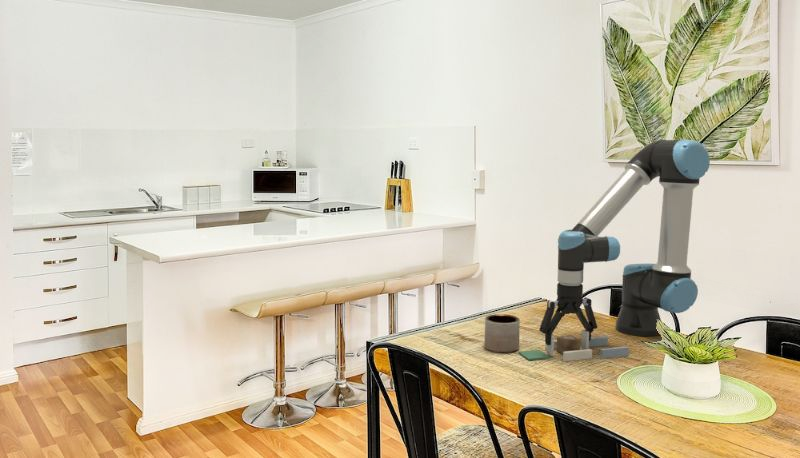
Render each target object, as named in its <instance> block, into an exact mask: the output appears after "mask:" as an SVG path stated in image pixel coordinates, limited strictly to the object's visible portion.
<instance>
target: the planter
mask: <svg viewBox="0 0 800 458" xmlns="http://www.w3.org/2000/svg"><path fill="white" fill-rule="evenodd" d="M520 321H521V320H520V318H519V317H517V316H516V315H511V314H505V313H504V314H502V313H500V314H499V313H497V314H490V315H487V316H485V318H484V342H483V343H484V347H485V349H487V350H488V351H491V352H493V353H498V354H499V353H500V354H507V353H508V354H509V353H513V352H516V351H518V350H519V349H520V323H521V322H520Z"/></svg>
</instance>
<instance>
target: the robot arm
mask: <svg viewBox="0 0 800 458" xmlns="http://www.w3.org/2000/svg"><path fill="white" fill-rule="evenodd" d="M710 161H711V159H710V154H709V152H708V150H707V148H706V147H705V146H704V145H703V144H702V143H701V142H699V141H696V140H690V139H659V140H656V141H653V142H650V143H649V144H647V145H646V146H644V147H643V148H641V149H640V150H639V151H637V153H635V155H633V156H632V157H631V159H629V161H628V162H627V163H626V164H625V165H624V171H623V172H622V173H621V174H620V175H619V177H618V178H617V179H616V180H615V181H614V182H613V183H612V184H611V186H610V187H608V189H606V191H605V192H604V193H603V194H602V196H600V198H599V199H598V200H597V201H596V202H595V203H594V205H592V207H591V208H590V209H589V210H588V211H587V212H586V213H585V215H584V216H582V218H581V219H580V220H579V222H578V223H577V224H575V226H574V227H573V228H572V229H565V230H563V231H561V232H560V233H559V236H558V238H557V243H558V244H557V253H558V255H557V284H556V296H557V298H556V300H550V299H549V300H547V301H546V310H545V312H544V315H543V317H542V321H541V323H540V326H539V329H538V330H539V332H540V333H543V334H544V336H545V337H544V343H546V344H547V350H546V354H547V355H548V356H550V357H554V355H555V350H554V340H555V335H554V334H553V333H554V331H555V330H556V328H557V327H558V325H559V323H560V322H561V320H562V318H563V317H565V315H569V314H570V315H571V314H572V315H573V314H575V315H576V317H577V318H578V320H579V322H580V323H581V324H582V326H583V328H584V329H581V339H582V347H581V346H580V350H584V349H590V347H589V341H590V340H591V338H592V333H593V332H594V329H595V330H596V329H598V324H597V321H596V317H595V314H594V311H593V307H592V299H590V298H588V297H584V298H583V295H584V293H583V291H584V285H583V283H584V270H585V269H584V265H585V264H586V263H602V262H603V263H604V262H605V263H607V262H610V261H611V262H612V261H613V262H614V261H615V260H617V259H618V258H619V256H620V255H621V244H620V242H619V240H618V238H616V237H614V236H607V235H605V236H600V235H601V233H602V232H603V230H605V229H606V227H608V225H609V224H610V223H611V222H612V221H613V220H614V218H616V217H617V215H618V214H619V213H620V212H621V211H622V210H623V208H624V207H626V205H628V203H629V202H630V200H632V198H633V197H634V196H636V194H637V193H638V191H640V190H641V188H642V187H643V186H648V185H650V183H651V182H652V181H653V180H654V179H656V178H657V177H659V178H658V179H659V181H658V183H659V184H660V185H661V187H662V188H663V195H662V204H661V216H660V229H659V240H658V241H659V242H658V254H657V262H656V263H630V264H629V263H628V264H627V265H625V266H624V267H623V273H622V285H621V286H622V289H621V294H622V295H621V307H620V310H619V313H618V315H617V318H616V320H615V328H614V329H615V330H616V331H618V332H619V333H622V334H625V335H630V336H635V337H655V336H660V335H659V333H658V331H657V329H656V319H659V320H660V321H661V322H662V320H661V316H660V313H659V309H660V310H661V309H662V310H663V311H665V312H669V313H674V314H680V313H684V312H686V311H688V310H689V309H690V308H691V307H693V305H694V304H695V302H696V300H697V298H698V292H699V290H698V289H699V288H698V285H697V284H696V282H695V281H694V280H693V279H691V278H692V270H691V269H690V268H689V266H688V253H689V241H690V230H691V220H692V219H691V218H692V207H693V197H694V196H693V195H694V189H695V188H697V186H699V185H700V179H701V178H702V177H704V176H705V175H706V173H707V172H708V170H709V168H710ZM582 305H583V308H584V311H585V314H586V316H585V315H584V312H583V310H582V308H581V306H582ZM555 309H556V310H555ZM586 317H587V318H586Z"/></svg>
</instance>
